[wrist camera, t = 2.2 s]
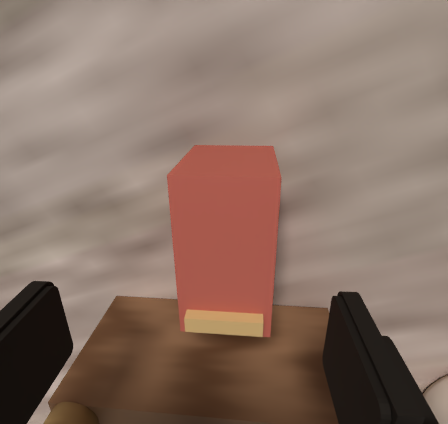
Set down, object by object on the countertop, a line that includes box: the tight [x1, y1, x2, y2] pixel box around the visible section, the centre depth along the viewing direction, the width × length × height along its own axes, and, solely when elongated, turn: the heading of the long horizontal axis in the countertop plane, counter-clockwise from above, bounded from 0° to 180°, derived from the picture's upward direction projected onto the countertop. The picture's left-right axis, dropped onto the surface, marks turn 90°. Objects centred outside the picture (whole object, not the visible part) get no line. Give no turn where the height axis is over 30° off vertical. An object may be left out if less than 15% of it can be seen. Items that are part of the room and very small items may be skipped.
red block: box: [167, 145, 281, 337], centre depth 16 cm, size 4×8×7 cm, turn 0°
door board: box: [44, 296, 339, 424], centre depth 17 cm, size 15×2×10 cm, turn 90°
